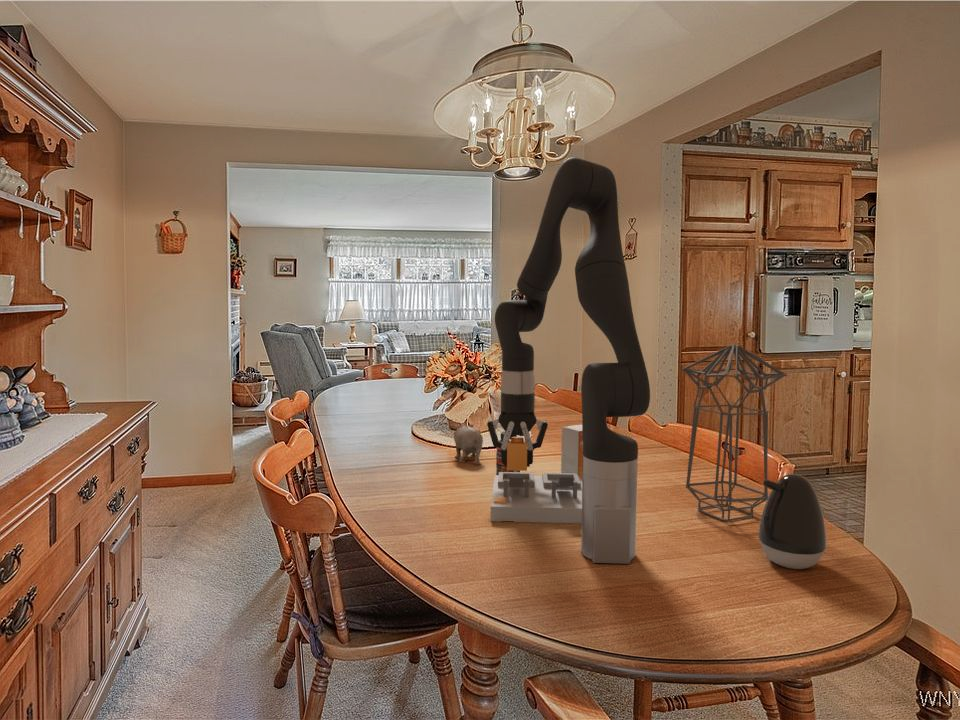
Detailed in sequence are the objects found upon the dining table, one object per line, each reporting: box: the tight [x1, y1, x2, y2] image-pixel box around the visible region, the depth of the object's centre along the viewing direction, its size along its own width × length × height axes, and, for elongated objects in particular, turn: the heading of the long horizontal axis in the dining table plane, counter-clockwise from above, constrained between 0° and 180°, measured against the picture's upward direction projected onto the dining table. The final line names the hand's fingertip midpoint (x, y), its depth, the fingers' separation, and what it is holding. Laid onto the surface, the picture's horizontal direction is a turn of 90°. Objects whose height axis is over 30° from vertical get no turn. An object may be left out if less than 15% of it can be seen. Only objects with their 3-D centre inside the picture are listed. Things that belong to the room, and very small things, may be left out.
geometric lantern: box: [681, 344, 788, 522], centre depth 132 cm, size 16×16×35 cm
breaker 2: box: [556, 477, 574, 489], centre depth 133 cm, size 11×3×2 cm, turn 177°
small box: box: [560, 424, 583, 481], centre depth 158 cm, size 8×6×13 cm
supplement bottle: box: [495, 431, 521, 475], centre depth 159 cm, size 6×6×11 cm
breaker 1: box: [509, 478, 523, 486], centre depth 134 cm, size 11×3×2 cm, turn 177°
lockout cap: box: [507, 436, 528, 472], centre depth 144 cm, size 4×4×7 cm
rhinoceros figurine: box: [453, 423, 484, 466], centre depth 178 cm, size 8×14×15 cm
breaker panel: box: [490, 471, 582, 524], centre depth 138 cm, size 23×20×6 cm
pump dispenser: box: [758, 473, 827, 570], centre depth 107 cm, size 10×10×15 cm
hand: (516, 465), depth 144 cm, fingers closed on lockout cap, 4 cm apart
